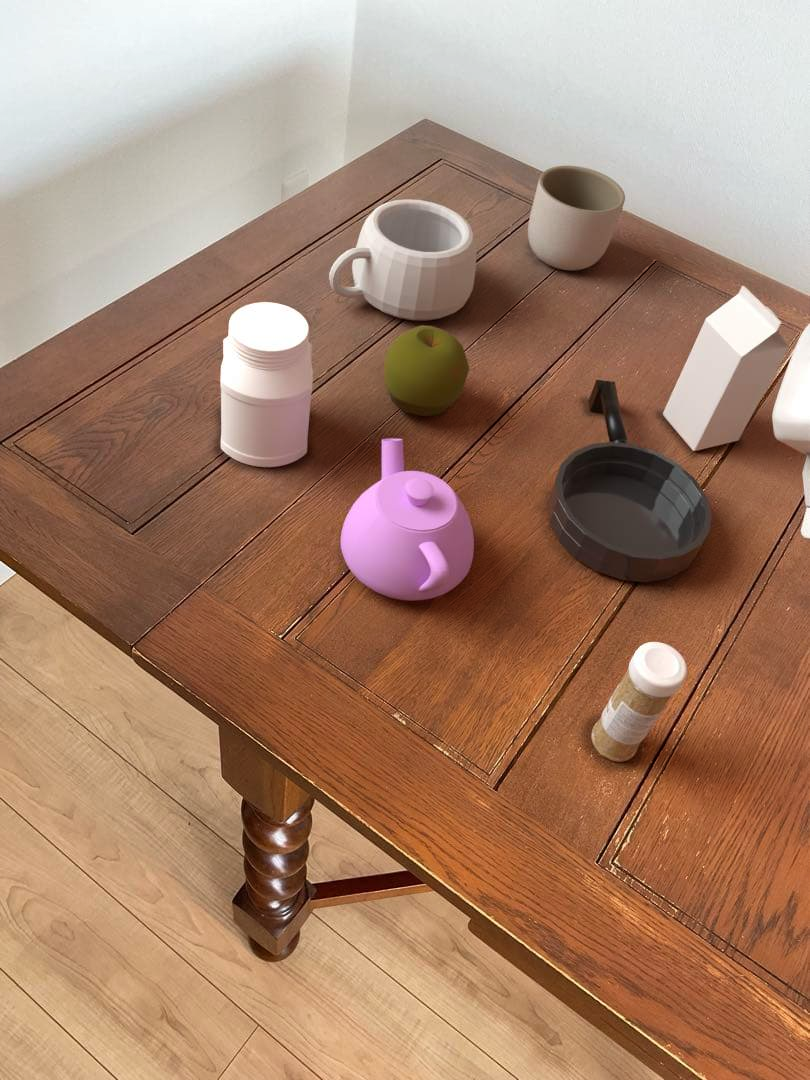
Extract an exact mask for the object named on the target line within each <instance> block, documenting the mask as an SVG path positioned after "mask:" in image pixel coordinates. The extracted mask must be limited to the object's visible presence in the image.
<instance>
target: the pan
mask: <svg viewBox="0 0 810 1080" xmlns="http://www.w3.org/2000/svg"><path fill="white" fill-rule="evenodd" d="M546 509H547V518H548V523H549V526H550V527H551V529H552V531H553V533H554V534H555V537H556V538H557V540H558V541H559V543H560V544H561V545H562V546H563V547H564V548H565V549H566V550H567V551H568V552H569V553H570V554H571V555H572V556H573V557H574V558H575V559H576V560H578V561H580V562H581V563H583V564H584V565H586V566H588V567H589V568H590V569H592V570H594V571H596V572H598V573H600V574H604V575H606V576H609V577H612V578H615V579H618V580H621V581H628V582H639V583H650V582H657V581H661V580H667V579H670V578H672V577H674V576H676V575H678V574H680V573H681V572H682V571H683V572H684V571H685V570H686V569H687V568H688V567H689V566H690V565H691V563H692V562H693V560H694V559H695V558H696V556H697V554H698V553H699V551H700V549H701V548H702V546H703V544H704V542H705V541H706V539H707V537H708V536H709V534H710V532H711V531H710V530H711V525H712V519H713V513H712V510H711V506H710V503H709V499H708V496H707V494H706V493H705V491H704V490H703V488H702V487H701V485H700V484H699V482H698V481H697V479H696V478H695V477H694V476H693V475H692V474H690V473H689V472H688V471H687V469H685V468H684V467H682V466H681V465H680V464H679V463H678V462H676V461H675V460H673V459H671V458H669V457H667V456H665V455H663V454H662V453H660V452H658V451H656V450H653V449H650V448H647V447H643V446H641V445H638V444H634V443H628V444H627V443H618V442H609V441H605V442H598V443H591V444H587V445H586V446H583V447H581V448H579V449H577V450H574V451H572V452H571V453H570V454H569V455H568V456H567V457H566V458H565V459H564V460H563V461H562V463H561V464H560V465H559V468H558V471H557V472H556V476H555V478H554V481H553V484H552V486H551V489H550V492H549V495H548V497H547V501H546Z"/></svg>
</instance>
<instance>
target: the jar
mask: <svg viewBox="0 0 810 1080" xmlns="http://www.w3.org/2000/svg"><path fill="white" fill-rule="evenodd" d="M309 336H310V327H309V323H308V321H307V319H306V318H305V317H304V316H303V315H302V314H301V313H300V312H299V311H298V310H296V309H294V308H293V307H291V306H288V305H285V304H281V303H277V302H270V301H263V302H261V301H259V302H253V303H249V304H245V305H243V306H241V307H240V308H238V309H237V310H236V311H235V312H233V313H232V314H231V316H230V318H229V321H228V336H226V337H225V338H224V339H223V340H222V343H223V344H222V355H223V358H222V362H221V365H220V378H219V379H220V384H219V385H220V392H221V393H220V401H221V402H220V420H221V421H220V423H221V424H220V433H221V434H220V449H221V450H222V452H223V453H225V454H226V455H227V456H228V457H230V458H232V459H233V460H235V461H237V462H239V463H241V464H245V465H248V466H251V467H259V468H276V467H282V466H286V465H290V464H292V463H295V462H296V461H298V460H300V459H301V458H302V457H304V456H305V455H306V454H307V453H308V435H309V423H310V413H311V401H312V394H313V385H314V382H313V381H314V369H313V365H312V360H313V351H314V349H313V348H314V346H313V345H312V343H310V342H309Z"/></svg>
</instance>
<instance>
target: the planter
mask: <svg viewBox="0 0 810 1080" xmlns="http://www.w3.org/2000/svg"><path fill="white" fill-rule="evenodd" d="M625 194H626V193H625V192H624V190H623V188H622V187H621V186H620V185H619V184H618V183H617V182H616V181H615V180H614V179H613V178H611V177H609V176H607V175H606V174H604V173H602V172H599V171H597V170H594V169H591V168H588V167H583V166H578V165H557V166H553V167H550V168H548V169H546V170H544V171H543V172H542V173H541V174H540V176H539V179H538V182H537V185H536V190H535V194H534V198H533V202H532V205H531V210H530V215H529V220H528V223H527V224H528V225H527V239H528V244H529V247H530V248H531V250H532V252H533V254H534V256H535V257H537V258H538V259H539V260H540V261H541V262H542V263H544V264H546V265H547V266H550V267H552V268H555V269H559V270H563V271H581V270H585V269H587V268H590V267H592V266H593V265H595V264H596V263H597V262H598V261H600V259H601V258H602V256H603V255H604V254H605V252H606V251H607V249H608V247H609V245H610V243H611V240H612V238H613V235H614V232H615V230H616V227H617V224H618V221H619V218H620V215H621V213H622V211H623V207H624V205H625V201H626V195H625Z"/></svg>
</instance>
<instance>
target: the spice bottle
mask: <svg viewBox="0 0 810 1080" xmlns="http://www.w3.org/2000/svg"><path fill="white" fill-rule="evenodd" d="M687 673H688V667H687V663H686V661H685V659H684V657H683V656H682V655H681V653H680V652H679V651H678V650H677V649H676V648H674V647H673V646H671V645H669V644H667V643H663V642H659V641H650V642H649V641H648V642H646V643H643V644H641V645H640V646H639V647H638V648H637V649H636V650H635V652H634V653H633V655H632V657H631V659H630V661H629V663H628V669H627V671H626V672H625V674H624V676H623V677H622V679H621V681H620V682H619V683H618V684H617V687H616V688H615V689H614V692H613V693H612V695H611V697H610V698H609V700H608V701H607V703H606V705H605V707H604V709H603V711H602V713H601V715H600V717H599V719H598V720H597V721H596V723H594V725H593V726H592V729H591V734H590V735H591V736H590V738H591V742H592V745H593V746H594V748H595V750H596V751H597V752H598V753H599V754H600V755H601V756H602V757H604V758H606V759H608V760H610V761H613V762H618V763H619V762H625V761H629V760H630V759H632V758H633V757H634V756H635V754H636V753H637V751H638V749H639V746H640V745H641V743H642V741H643V740H644V739H645V738H647V735H648V734H649V732H650V731H651V730H652V728H653V727H654V725H655V723H656V722H657V720H658V719H659V717H660V716H661V714H662V713H663V712H664V710H665V709H666V706H667V704H668V702H669V700H670V699H671V698H672V697H673V695H675V694H676V693H677V692H678V691H679V690H680V688H681V686H682V685H683V683H684V682H685V680H686V678H687Z"/></svg>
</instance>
